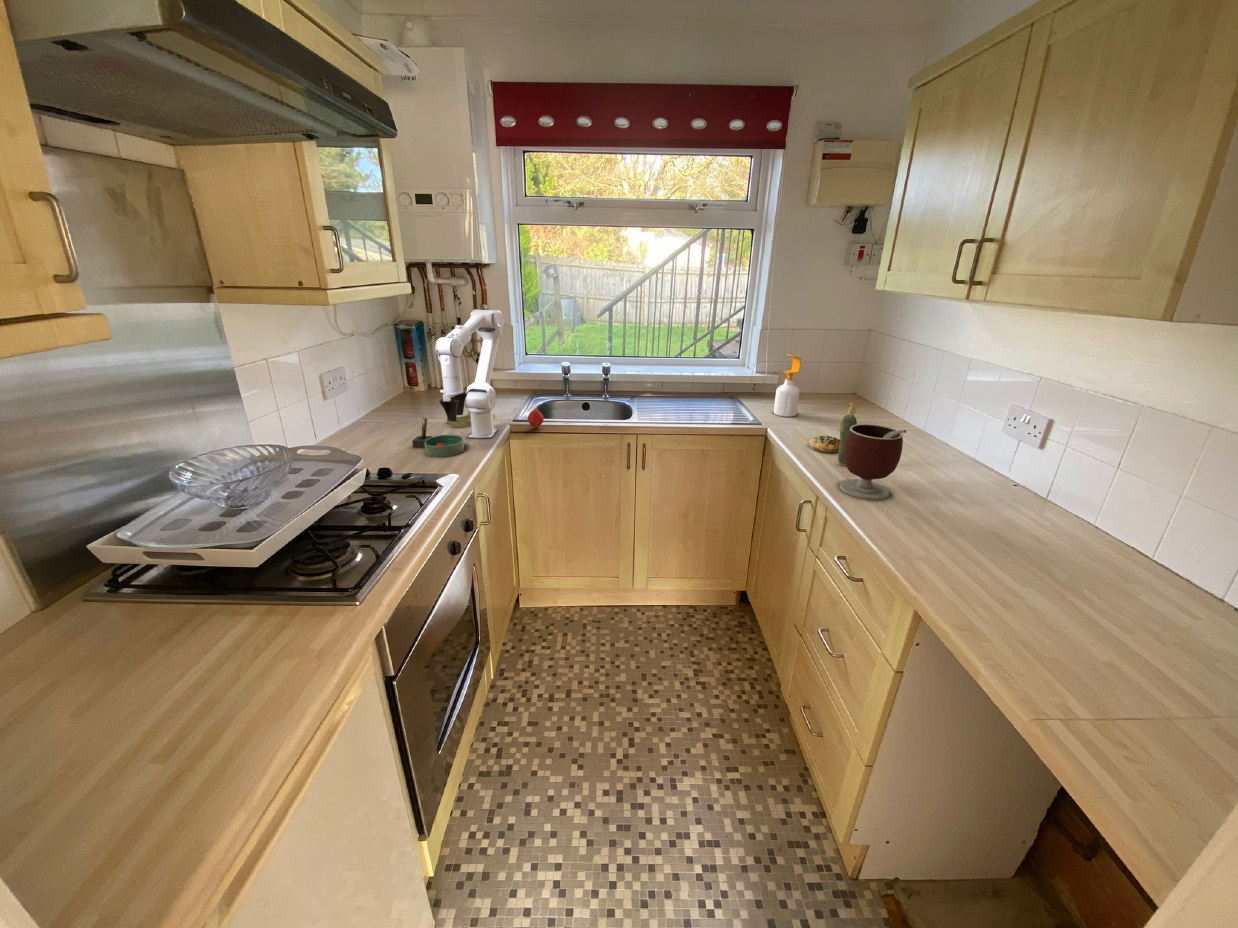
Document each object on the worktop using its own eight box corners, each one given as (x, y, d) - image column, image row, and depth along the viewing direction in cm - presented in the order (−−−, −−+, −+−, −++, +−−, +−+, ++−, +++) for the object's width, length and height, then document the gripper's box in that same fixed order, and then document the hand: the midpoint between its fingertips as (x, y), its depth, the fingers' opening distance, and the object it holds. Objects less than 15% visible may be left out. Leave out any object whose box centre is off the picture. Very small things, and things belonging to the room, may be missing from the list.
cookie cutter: (474, 413, 208) (473, 408, 207) (497, 417, 203) (497, 412, 203) (442, 424, 193) (441, 419, 192) (466, 429, 188) (466, 424, 188)
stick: (421, 444, 172) (423, 416, 168) (425, 445, 172) (427, 417, 168) (420, 445, 171) (422, 417, 167) (424, 446, 171) (426, 418, 167)
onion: (525, 429, 189) (523, 408, 186) (534, 425, 194) (533, 404, 191) (537, 431, 186) (536, 410, 183) (547, 427, 191) (546, 406, 188)
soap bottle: (768, 412, 213) (776, 353, 204) (785, 410, 217) (793, 352, 208) (783, 418, 206) (791, 357, 197) (801, 415, 209) (809, 355, 200)
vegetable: (850, 468, 155) (862, 405, 148) (835, 467, 156) (846, 404, 148) (846, 463, 159) (858, 401, 152) (832, 462, 160) (843, 400, 152)
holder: (418, 442, 174) (417, 435, 173) (433, 443, 174) (432, 436, 173) (413, 447, 169) (412, 440, 168) (428, 447, 169) (427, 440, 168)
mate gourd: (825, 483, 144) (837, 415, 137) (863, 477, 149) (877, 411, 141) (868, 506, 131) (884, 432, 123) (908, 498, 135) (926, 427, 128)
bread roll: (846, 445, 174) (847, 432, 171) (838, 459, 166) (839, 445, 163) (812, 441, 180) (813, 428, 177) (803, 453, 172) (804, 440, 169)
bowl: (433, 444, 172) (431, 434, 171) (468, 444, 172) (467, 435, 171) (420, 457, 161) (418, 446, 160) (458, 457, 161) (456, 446, 160)
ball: (432, 444, 161) (434, 453, 162) (441, 443, 161) (443, 453, 162) (437, 442, 164) (438, 452, 165) (445, 442, 164) (447, 451, 164)
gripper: (446, 372, 167) (450, 412, 172) (431, 380, 154) (436, 424, 159) (467, 372, 167) (471, 412, 172) (454, 381, 154) (458, 424, 159)
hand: (456, 418), depth 165 cm, fingers open, 7 cm apart
